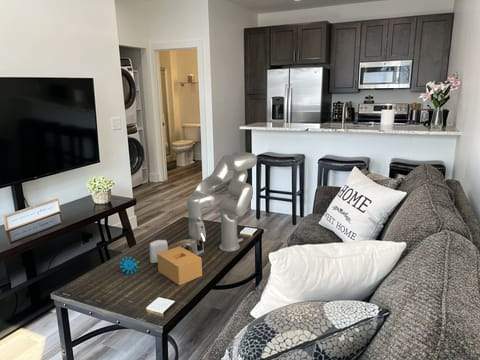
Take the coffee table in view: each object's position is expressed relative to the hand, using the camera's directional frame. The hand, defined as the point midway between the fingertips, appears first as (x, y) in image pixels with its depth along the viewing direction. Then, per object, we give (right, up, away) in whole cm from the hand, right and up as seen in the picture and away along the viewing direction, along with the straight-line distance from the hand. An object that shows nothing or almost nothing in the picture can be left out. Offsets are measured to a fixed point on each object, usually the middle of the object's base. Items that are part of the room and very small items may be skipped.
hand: (198, 249), depth 199 cm
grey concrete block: (0, -2, +1) cm, 2 cm away
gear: (-35, -11, -8) cm, 38 cm away
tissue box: (-8, -11, -11) cm, 17 cm away
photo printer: (-22, -7, +3) cm, 24 cm away
